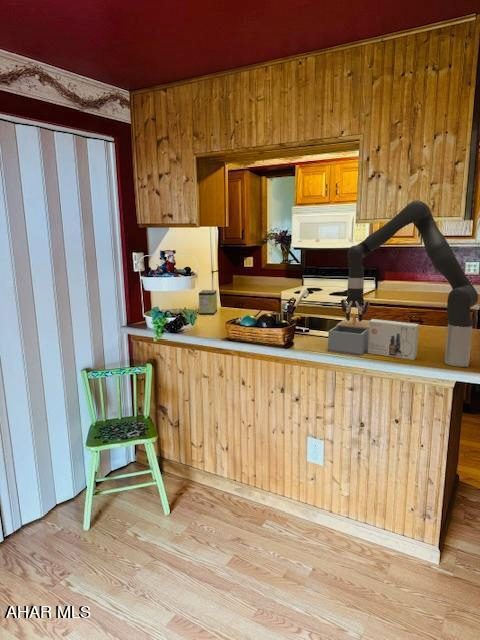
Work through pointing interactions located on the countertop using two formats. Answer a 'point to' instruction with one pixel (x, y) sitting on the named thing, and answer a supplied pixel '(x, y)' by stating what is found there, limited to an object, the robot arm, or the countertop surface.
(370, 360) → the countertop surface
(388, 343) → the skincare box
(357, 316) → the carton lid
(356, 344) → the carton
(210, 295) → the protein box
